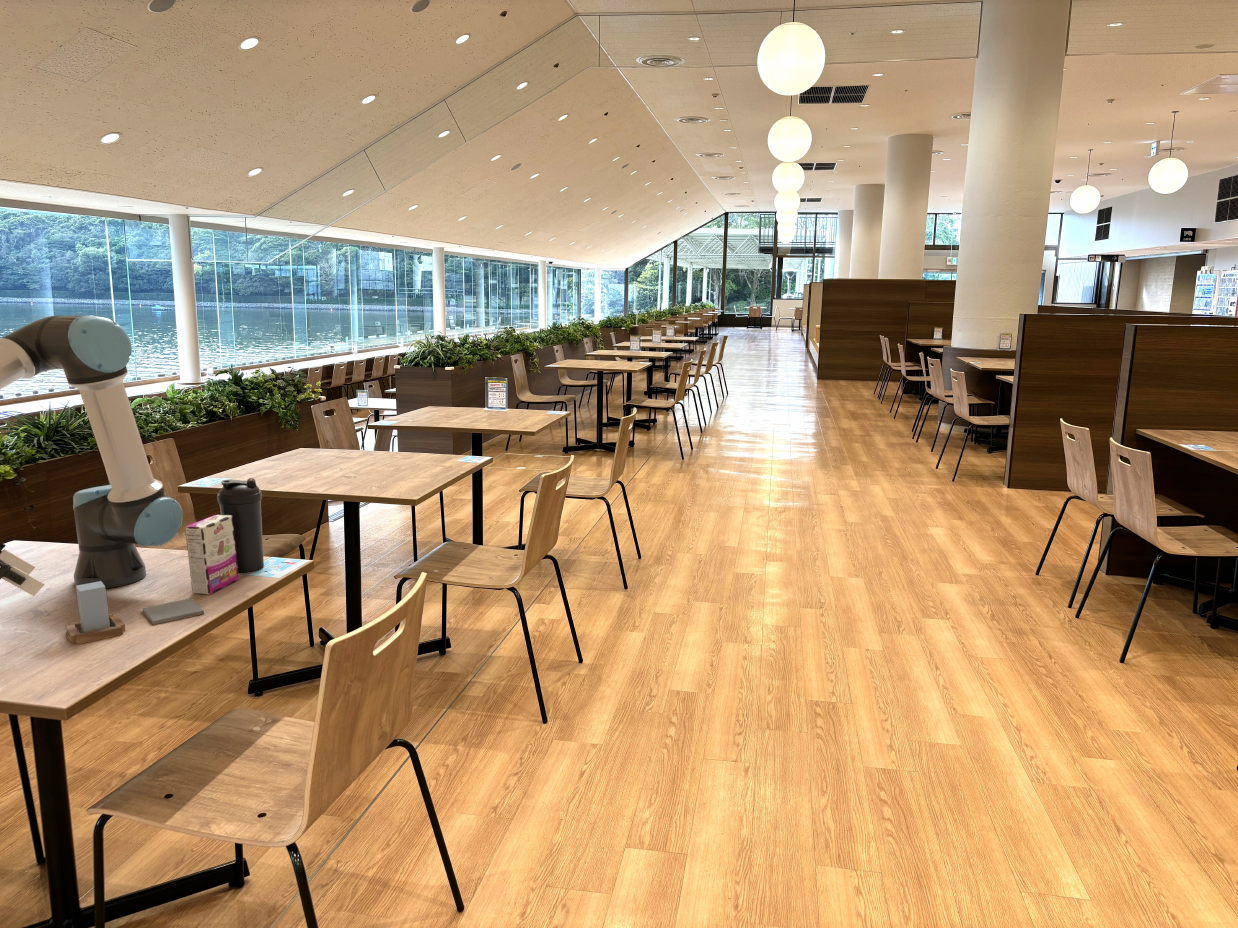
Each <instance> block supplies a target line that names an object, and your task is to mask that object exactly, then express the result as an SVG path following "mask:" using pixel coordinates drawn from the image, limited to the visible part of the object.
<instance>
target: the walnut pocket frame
mask: <svg viewBox="0 0 1238 928" xmlns="http://www.w3.org/2000/svg"><path fill="white" fill-rule="evenodd" d="M109 622H110V628H105V629H101V630H96V631H91V632H87V633H82V632H81V633H80V631H81V623H80V620H79V621H73V622H70V623H68V625H66V626H65V630H66V635H67V637H68V639H69V641H70V642H71V644H72V643H73V644H74V643H76V644H77V645H80V644H85V643H90V642H95V641H100V640H102V639H103V640H104V639H107V638H108V639H109V638H112V637H117V636H123V635H124V632H126V624H125V622H124V621H123V620H122V619H121V618H120V616H119V615H114V614H109Z"/></svg>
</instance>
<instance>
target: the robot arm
mask: <svg viewBox="0 0 1238 928" xmlns="http://www.w3.org/2000/svg"><path fill="white" fill-rule="evenodd" d="M132 350H133V348H132V342H131V339H130V337H129V335H128V333H127V331H126V330H125V329H124V328H123V327H122V326H121V324H119V323H118V322H116V321H113V320H112V319H109V318H108V317H102V316H97V315H91V314H90V315H89V314H88V315H49V316H46V317H42V318H39V319H37V320H35V321H32V322H30V323H28V324H26V325H24V326H22V327H21V328H19V329H16V330H15V331H13V332H11V333H9V334H7V335H5V336H3V337H1V338H0V390H2V389H3V388H5V387H7V386H9V385H10V384H13V383H14V382H16V381H18V380H19V379H21V378H22V379H27V380H28V379H32V378H33V377H35V376H37V375H38V374H41V373H44V372H47V371H54V370H63V373H64V375H65V378H66V380H67V383H68V385H69V386H71V387H74V388H75V389H77V390H78V391H79V395H80V397H81V400H82V402H83V406H84V408H85V412H86V414H87V417H88V421H89V424H90V427H91V430H92V432H93V435H94V438H95V441H96V444H97V448H98V450H99V453H100V456H101V459H102V462H103V465H104V468H105V471H106V475H107V477H108V480H109V483H110V484H106V485H102V486H95V487H90V488H85V489H82V490H81V489H80V490H78V491H76V492H75V493H74V494H73V497H72V499H73V500H72V501H73V503H72V505H73V506H72V510H73V513H74V520H75V521H74V522H75V528H76V537H77V543H78V550H79V551H78V557H77V560H76V561H77V562H76V565H75V570H74V573H73V581H74V583H73V584H74V586H75V587H76V586H77V585H82V584H88V583H93V582H99V581H101V582H102V583H103V584H104V586H105V589H110V588H111V589H112V588H116V587H122V586H126V585H129V584H133V583H136V582H138V581H140V580H143V578H145V577H146V576H147V568H146V564H145V562H144V561H143V558H142V557H141V555H140V552H139V550H138V549H137V547H136V545H139V546H142V547H158V546H163V545H165V544H167V543H169V542H170V541H171V540H172V539H174V538H175V536H177V534H178V533H179V529H180V528H181V526H182V524H183V517H184V516H183V515H184V514H183V509H182V508H183V507H181V504H180V503H179V502H178V501H177V500H175V499H174V498H172V497H170V496H169V497H168V496H167V493H166V490H165V487H164V484H163V482H162V481H161V480H158V479H156V478H154V476H153V473H152V470H151V466H150V464H149V461H148V458H147V457H148V456H147V454H146V451H145V448H144V445H143V442H142V438H141V435H140V431H139V427H138V425H137V422H136V419H135V416H134V413H133V409H132V406H131V404H130V400H129V397H128V394H127V391H126V388H125V384H124V380H125V377H126V376H127V375H128V373H129V372H128V369H127V365H128V363H129V362H130V359H131V358H130V356H132V352H133V351H132ZM6 546H7V545H6V544H5V543H3V542H0V580H4V581H5V582H7V583H9V584H10V585H13V586H14V587H16V588H18V589H20V590H22V591H23V592H24V593H25V592H26V593H27V594H29V595H31V596H32V597H35V596H36V595H37V593H39V592H40V591H41V589H42V588H43V587H45V583H44V582H42V581H41V580H39V579H37V578H35V577H33V576H32V575H30V574H31V573H32V572H33V571H34V569H35V568H36V566H35V565H33V564H31V563H30V562H28V561H26V560H24V559H23V558H21V557H19V556H17V555H15V554H14V553H13V552H11V551H9V550H7V549H5V547H6Z"/></svg>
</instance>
